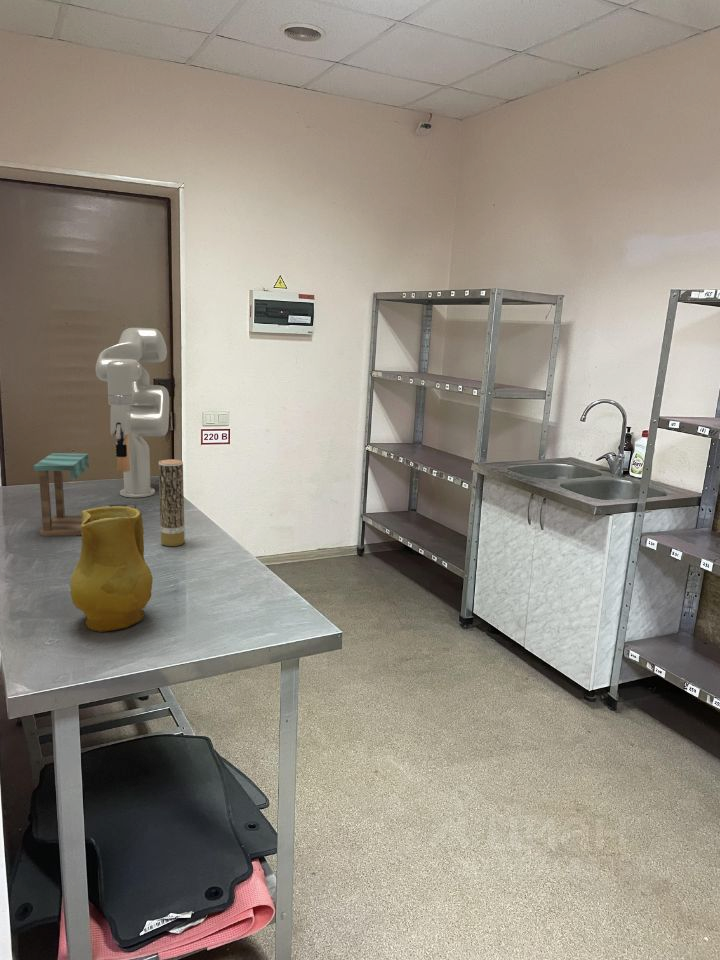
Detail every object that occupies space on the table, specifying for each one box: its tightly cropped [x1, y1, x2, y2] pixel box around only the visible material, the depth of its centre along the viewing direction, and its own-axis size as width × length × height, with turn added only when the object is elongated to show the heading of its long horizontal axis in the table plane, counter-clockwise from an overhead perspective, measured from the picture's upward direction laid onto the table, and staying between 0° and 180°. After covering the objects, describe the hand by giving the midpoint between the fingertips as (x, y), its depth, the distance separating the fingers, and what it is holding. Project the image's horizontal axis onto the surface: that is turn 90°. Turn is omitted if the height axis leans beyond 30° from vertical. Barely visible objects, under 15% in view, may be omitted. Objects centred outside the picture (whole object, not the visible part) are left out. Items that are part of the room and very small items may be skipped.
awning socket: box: [33, 452, 137, 537], centre depth 212 cm, size 18×27×22 cm, turn 98°
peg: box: [116, 433, 130, 473], centre depth 223 cm, size 4×4×14 cm
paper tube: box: [158, 459, 185, 547], centre depth 200 cm, size 7×7×25 cm
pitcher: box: [69, 506, 153, 633], centre depth 149 cm, size 17×19×25 cm
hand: (123, 454), depth 223 cm, fingers closed on peg, 4 cm apart
